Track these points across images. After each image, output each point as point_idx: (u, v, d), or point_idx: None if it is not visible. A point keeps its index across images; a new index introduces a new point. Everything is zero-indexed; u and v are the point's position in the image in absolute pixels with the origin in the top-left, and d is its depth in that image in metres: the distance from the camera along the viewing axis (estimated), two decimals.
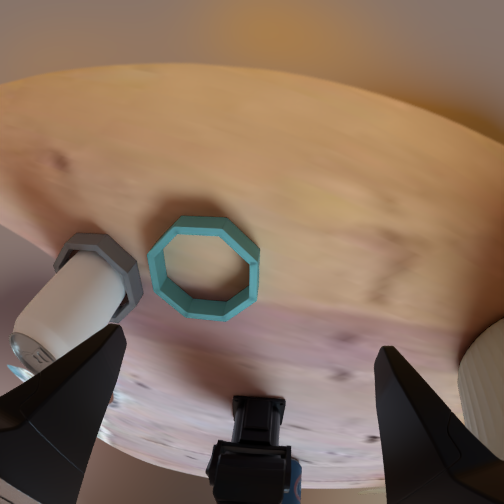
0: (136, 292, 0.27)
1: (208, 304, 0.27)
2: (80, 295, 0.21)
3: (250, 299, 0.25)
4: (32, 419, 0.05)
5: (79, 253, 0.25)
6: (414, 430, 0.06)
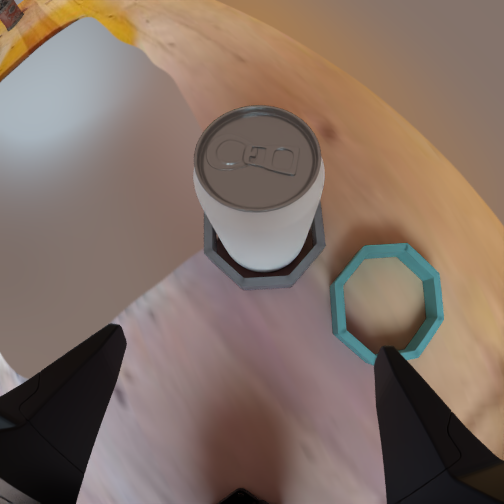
0: (301, 274, 0.22)
1: None
2: None
3: (414, 353, 0.20)
4: (32, 418, 0.05)
5: None
6: (414, 430, 0.06)
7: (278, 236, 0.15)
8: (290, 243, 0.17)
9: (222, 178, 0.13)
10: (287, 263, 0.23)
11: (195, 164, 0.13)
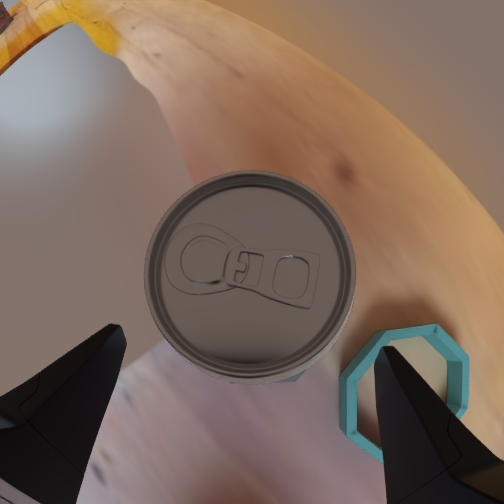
0: None
1: (367, 438, 0.16)
2: None
3: None
4: (32, 418, 0.05)
5: None
6: (414, 430, 0.06)
7: None
8: None
9: (189, 309, 0.08)
10: None
11: (146, 283, 0.08)
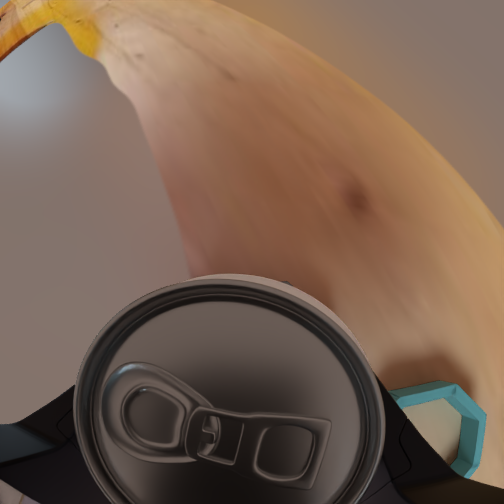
0: None
1: None
2: None
3: None
4: (72, 437, 0.05)
5: None
6: None
7: None
8: None
9: (141, 477, 0.04)
10: None
11: (79, 441, 0.04)
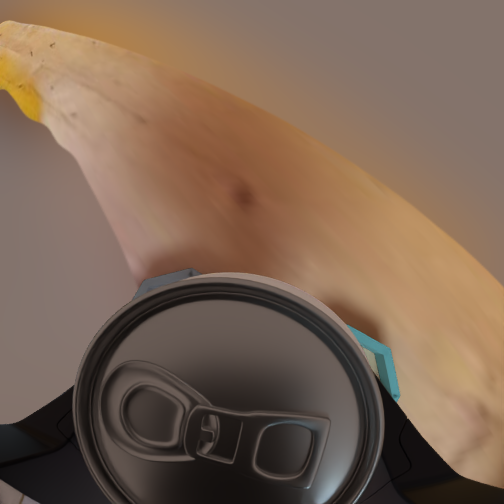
0: None
1: None
2: None
3: None
4: (73, 437, 0.05)
5: None
6: None
7: None
8: None
9: (141, 476, 0.04)
10: None
11: (78, 439, 0.04)
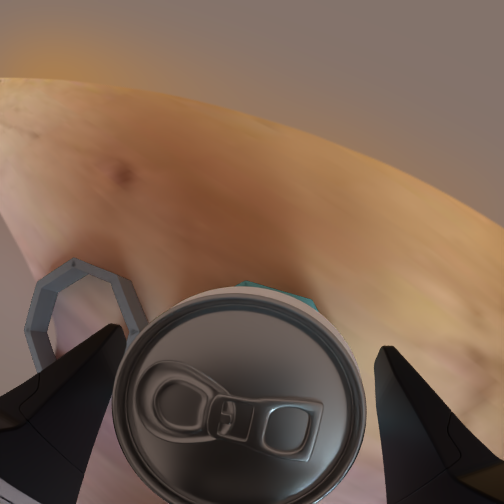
0: None
1: None
2: None
3: None
4: (32, 418, 0.05)
5: None
6: (414, 430, 0.06)
7: None
8: None
9: (169, 456, 0.06)
10: None
11: (116, 429, 0.06)
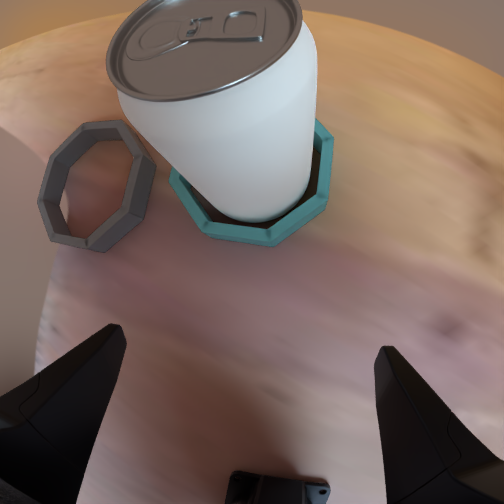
0: (138, 197, 0.18)
1: None
2: None
3: (318, 197, 0.16)
4: (32, 419, 0.05)
5: None
6: (414, 430, 0.06)
7: (257, 146, 0.08)
8: (284, 164, 0.11)
9: (146, 69, 0.07)
10: (291, 204, 0.16)
11: (107, 62, 0.07)
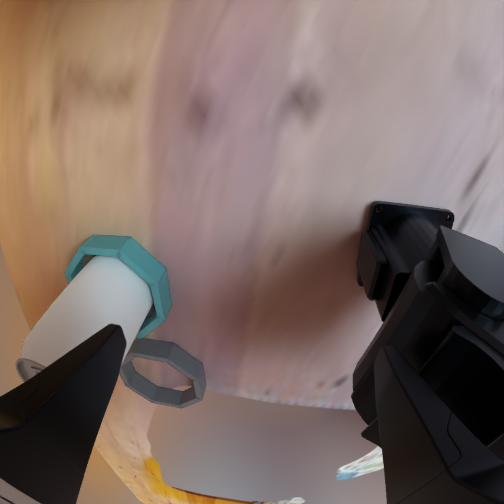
0: (159, 350, 0.27)
1: None
2: (61, 296, 0.18)
3: (120, 255, 0.21)
4: (32, 418, 0.05)
5: None
6: (414, 430, 0.06)
7: None
8: (98, 320, 0.17)
9: None
10: None
11: None
